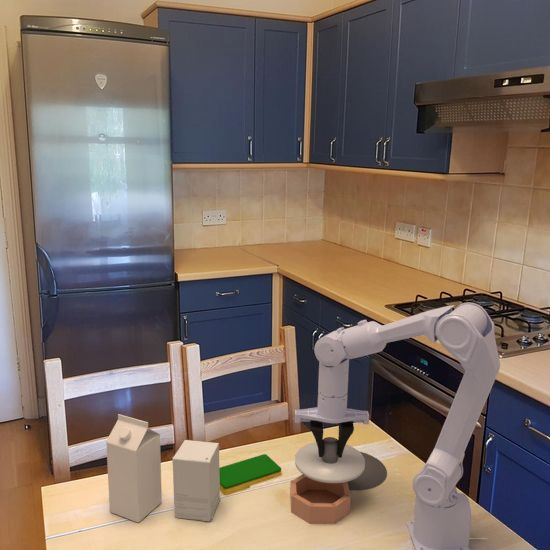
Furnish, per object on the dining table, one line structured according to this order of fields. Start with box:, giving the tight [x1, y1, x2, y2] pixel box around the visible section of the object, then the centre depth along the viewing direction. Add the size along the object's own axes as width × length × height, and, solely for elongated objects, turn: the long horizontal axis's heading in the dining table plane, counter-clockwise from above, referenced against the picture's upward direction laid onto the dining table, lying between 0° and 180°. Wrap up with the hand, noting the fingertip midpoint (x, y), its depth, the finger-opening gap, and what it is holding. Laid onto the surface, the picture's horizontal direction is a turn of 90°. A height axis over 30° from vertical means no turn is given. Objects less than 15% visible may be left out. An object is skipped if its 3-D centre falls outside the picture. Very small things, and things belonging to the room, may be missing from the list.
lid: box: [294, 436, 365, 483], centre depth 111 cm, size 14×14×5 cm
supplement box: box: [171, 439, 221, 522], centre depth 107 cm, size 7×7×13 cm
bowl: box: [289, 473, 352, 525], centre depth 109 cm, size 12×12×4 cm
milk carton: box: [105, 413, 163, 523], centre depth 106 cm, size 7×7×19 cm
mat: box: [347, 451, 388, 491], centre depth 123 cm, size 16×16×1 cm
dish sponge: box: [219, 453, 282, 496], centre depth 119 cm, size 7×14×2 cm, turn 121°
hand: (329, 454), depth 111 cm, fingers closed on lid, 3 cm apart
